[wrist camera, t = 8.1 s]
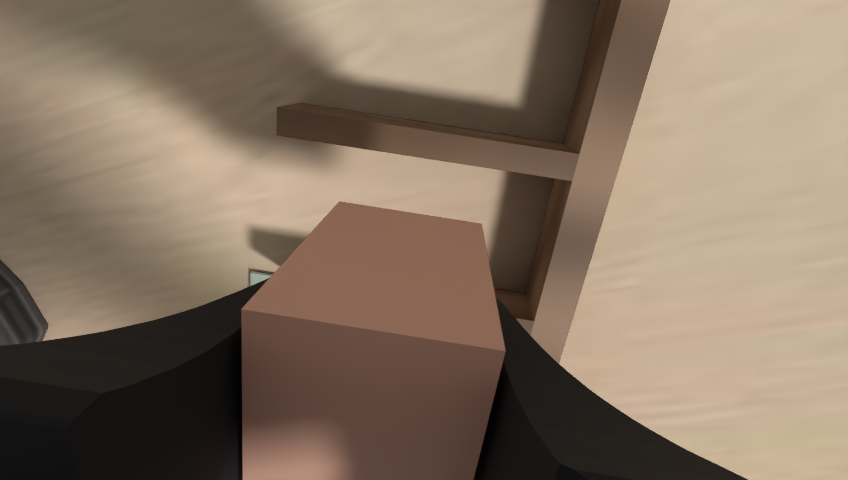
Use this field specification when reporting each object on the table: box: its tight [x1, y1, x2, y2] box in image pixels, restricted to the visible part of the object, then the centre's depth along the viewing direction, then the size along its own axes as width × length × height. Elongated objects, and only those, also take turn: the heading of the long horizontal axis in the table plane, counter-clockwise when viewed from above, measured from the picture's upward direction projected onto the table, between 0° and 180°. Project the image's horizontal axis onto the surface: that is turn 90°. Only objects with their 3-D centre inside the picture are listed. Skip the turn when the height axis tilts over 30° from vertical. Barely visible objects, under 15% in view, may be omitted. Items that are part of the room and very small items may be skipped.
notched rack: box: [250, 0, 670, 364], centre depth 18 cm, size 22×14×2 cm, turn 172°
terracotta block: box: [241, 202, 506, 480], centre depth 10 cm, size 4×4×6 cm
